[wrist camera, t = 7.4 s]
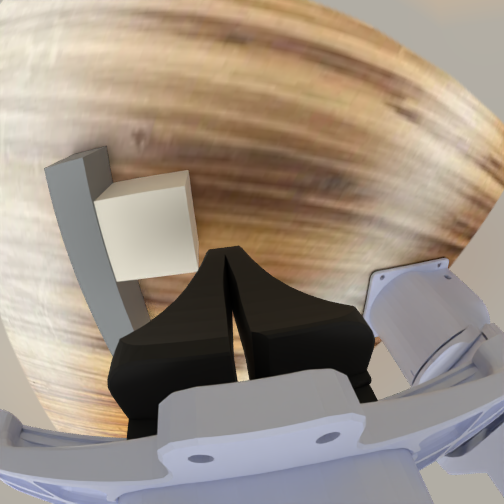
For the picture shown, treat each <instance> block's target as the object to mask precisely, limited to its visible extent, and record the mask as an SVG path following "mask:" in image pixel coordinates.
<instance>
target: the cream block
mask: <svg viewBox="0 0 504 504" xmlns="http://www.w3.org/2000/svg"><path fill="white" fill-rule="evenodd" d="M94 205H95V209H96V213H97V217H98V221H99V225H100V229H101V232H102V236H103V239H104V243H105V246H106V250H107V253H108V256H109V259H110V263H111V266H112V269H113V272H114V275H115V278H116V281H117V282H119V281H127V280H135V279H144V278H152V277H160V276H168V275H176V274H184V273H192V272H197V271H198V269H199V240H198V234H197V227H196V221H195V214H194V207H193V200H192V192H191V185H190V177H189V170H185V171H178V172H171V173H165V174H159V175H153V176H147V177H141V178H135V179H130V180H124V181H119V182H114V183H113V184H111V185H110V186H109V187H108V188H107V189H106V190H105V191H104V192H103V193H102V194H101V195H100V196H99V197H98V198H97V199H96V200H95V201H94Z"/></svg>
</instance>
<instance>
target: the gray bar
mask: <svg viewBox="0 0 504 504" xmlns="http://www.w3.org/2000/svg"><path fill="white" fill-rule="evenodd" d="M44 170H45V174H46V179H47V183H48V188H49V192H50V196H51V200H52V204H53V207H54V211H55V215H56V218H57V221H58V225H59V228H60V231H61V235H62V238H63V241H64V244H65V247H66V250H67V253H68V256H69V258H70V261H71V264H72V267H73V269H74V272H75V275H76V277H77V280H78V282H79V285H80V287H81V290H82V292H83V295H84V297H85V299H86V302H87V304H88V306H89V309H90V311H91V313H92V315H93V317H94V320H95V322H96V324H97V326H98V328H99V330H100V332H101V334H102V336H103V338H104V340H105V342H106V344H107V346H108V348H109V350H110V352H111V354H112V356H113V355H114V352H115V349H116V347H117V344H118V342H119V339H120V338H122V337H124V336H126V335H128V334H130V333H131V332H133V331H135V330H137V329H139V328H140V327H142V326H144V325H145V324H147V323H148V322H150V321H151V320H150V317H149V314H148V311H147V308H146V305H145V302H144V299H143V296H142V293H141V290H140V287H139V283H138V280H137V279H135V280H127V281H119V282H117V281H116V278H115V275H114V272H113V269H112V266H111V263H110V259H109V256H108V253H107V250H106V246H105V243H104V239H103V236H102V232H101V229H100V225H99V221H98V217H97V213H96V209H95V205H94V201H95V200H96V199H97V198H98V197H99V196H100V195H101V194H102V193H103V192H104V191H105V190H106V189H107V188H108V187H109V186H110V185H111V184H113V180H112V175H111V170H110V164H109V159H108V153H107V146H105V147H101V148H97V149H92V150H89V151H85V152H81V153H77V154H74V155H71V156H69V157H67V158H65V159H63V160H60V161H58V162H56V163H54V164H52V165H50V166H48V167H46V168H44Z"/></svg>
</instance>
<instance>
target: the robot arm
mask: <svg viewBox="0 0 504 504" xmlns="http://www.w3.org/2000/svg"><path fill="white" fill-rule="evenodd" d="M448 264H449V260H448V259H447V258H441V259H437V260H432V261H427V262H422V263H417V264H413V265H408V266H403V267H397V268H392V269H387V270H382V271H377V272H374V273H373V274H372V275H371V279H370V285H369V290H368V295H367V300H366V305H365V310H364V314H363V316H362V315H361V314H360V313H359V311H358V310H357V309H356V308H355V307H354V306H350V305H345V304H340V303H335V302H330V301H327V300H323V299H320V298H317V297H314V296H311V295H308V294H305V293H303V292H301V291H299V290H296V289H294V288H292V287H290V286H288V285H286V284H284V283H283V282H281V281H279V280H278V279H276V278H274V277H273V276H271V275H270V274H269V273H267V272H266V271H265V270H264V269H262V268H261V267H260V266H259V265H258V264H257V263H256V262H255V261H254V260H253V259H252V258H251V257H250V256H249V255H248V254H247V253H246V252H245V251H244V250H243V249H242V248H241V247H240V246H233V247H225V248H217V249H209V250H208V251H207V253H206V255H205V258H204V260H203V262H202V264H201V266H200V267H199V269H198V271H197V272H196V274H195V276H194V277H193V279H192V280H191V282H190V283H189V284H188V286H187V287H186V289H185V290H184V291H183V292H182V294H181V295H180V296H179V297H178V298H177V299H176V300H175V301H174V302H173V303H172V304H171V305H170V306H168V307H167V308H166V309H165V310H164V311H163V312H162V313H160V314H159V315H158V316H157V317H155V318H154V319H152V320H151V321H150V322H148V323H147V324H145V325H144V326H142V327H140V328H139V329H137V330H135V331H133V332H131V333H130V334H128V335H126V336H124V337H122V338H120V339H119V342H118V344H117V347H116V349H115V352H114V355H113V358H112V362H111V366H110V371H109V375H108V379H107V380H108V389H109V391H110V393H111V395H112V396H113V398H114V399H115V401H116V402H117V403H118V405H119V406H120V408H121V409H122V410H123V412H124V413H125V414H126V416H127V417H128V418H129V422H128V431H127V438H113V437H99V436H89V435H79V434H72V433H64V432H58V431H52V430H46V429H40V428H35V427H31V426H26V425H22V423H21V422H20V421H19V419H17V418H16V417H15V416H14V415H13V414H12V413H10V412H8V411H6V410H2V409H0V480H1V481H3V482H4V483H6V484H7V485H9V486H10V487H12V488H14V489H15V490H18V491H20V492H23V493H25V494H28V495H31V496H33V497H36V498H39V499H41V500H44V501H47V502H50V503H53V504H434V503H433V500H432V498H431V496H430V494H429V492H428V489H427V487H426V485H425V483H424V481H423V479H422V476H421V474H420V472H419V470H421V469H423V468H425V467H426V466H428V465H430V464H432V463H433V462H435V461H436V462H437V463H438V464H439V465H440V466H441V467H442V468H443V469H444V470H445V471H446V472H447V473H448V474H450V475H460V474H472V473H487V474H488V476H489V477H490V478H491V480H492V481H493V483H494V484H495V486H496V487H497V488H498V490H499V491H500V493H501V494H502V496H503V497H504V332H503V331H502V330H501V329H500V328H499V327H498V326H497V325H496V324H495V323H491V324H490V317H489V313H488V310H487V308H486V306H485V304H484V303H483V301H482V300H481V299H480V298H479V296H478V295H476V294H475V293H474V292H473V291H472V290H471V289H470V288H469V287H468V286H467V285H466V284H465V283H464V282H462V281H461V280H460V279H459V278H458V277H457V276H456V275H454V274H453V273H452V272H451V271H450V270H449V269H448ZM381 276H382V277H381ZM232 311H233V314H234V318H235V322H236V325H237V329H238V332H239V336H240V339H241V343H242V346H243V350H244V354H245V358H246V363H247V369H248V374H249V380H248V381H241V382H238V381H237V374H236V368H235V361H234V349H233V321H232ZM378 336H379V337H380V339H381V340H382V342H383V343H384V345H385V346H386V348H387V349H388V351H389V352H390V354H391V355H392V357H393V359H394V360H395V362H396V363H397V365H398V366H399V368H400V370H401V371H402V373H403V374H404V376H405V378H406V379H407V381H408V382H409V384H410V386H411V388H410V389H407V390H405V391H402V392H400V393H397V394H394V395H392V396H389V397H386V398H384V399H381V400H377V398H376V396H375V394H374V392H373V390H372V388H371V387H370V385H369V384H370V383H371V377H370V375H369V373H368V371H367V367H368V364H369V361H370V358H371V355H372V352H373V349H374V343H375V337H378Z"/></svg>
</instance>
